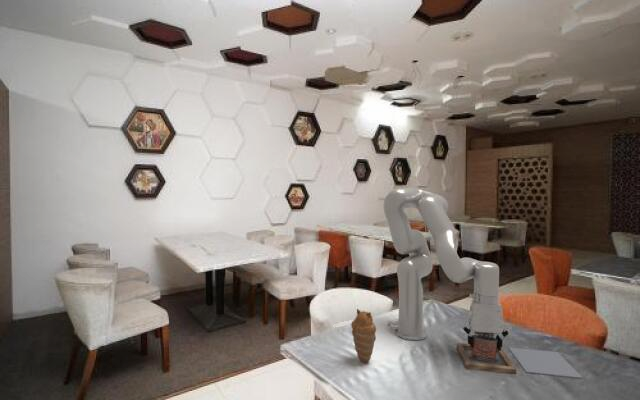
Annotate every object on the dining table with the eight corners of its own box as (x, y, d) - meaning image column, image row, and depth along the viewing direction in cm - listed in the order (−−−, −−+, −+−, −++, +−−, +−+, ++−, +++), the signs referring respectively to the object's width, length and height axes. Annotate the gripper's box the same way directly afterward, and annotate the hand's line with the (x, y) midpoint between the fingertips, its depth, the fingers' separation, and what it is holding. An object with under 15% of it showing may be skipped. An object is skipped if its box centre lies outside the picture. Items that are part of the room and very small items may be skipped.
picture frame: (466, 368, 108) (466, 364, 108) (457, 346, 122) (457, 342, 122) (516, 374, 104) (516, 369, 104) (500, 350, 119) (500, 346, 119)
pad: (526, 372, 105) (526, 371, 105) (508, 348, 121) (508, 347, 121) (582, 378, 102) (582, 377, 102) (556, 353, 118) (557, 351, 118)
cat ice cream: (347, 362, 112) (347, 310, 111) (359, 352, 118) (359, 304, 117) (370, 371, 106) (370, 317, 105) (381, 360, 113) (381, 309, 112)
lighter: (495, 358, 114) (497, 330, 113) (497, 363, 111) (499, 335, 110) (470, 353, 117) (472, 326, 116) (471, 358, 114) (472, 331, 113)
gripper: (461, 300, 110) (460, 350, 111) (517, 304, 107) (516, 355, 108) (457, 292, 118) (455, 339, 119) (509, 296, 114) (508, 344, 115)
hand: (484, 347), depth 113 cm, fingers closed on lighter, 8 cm apart
